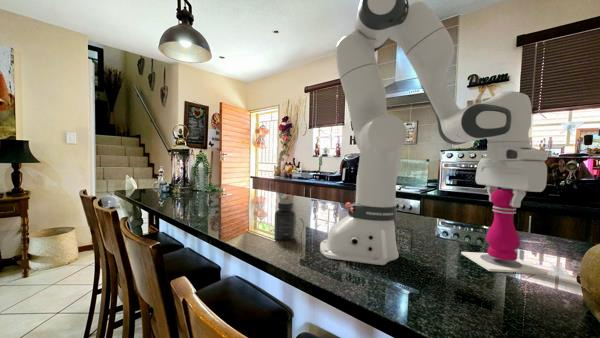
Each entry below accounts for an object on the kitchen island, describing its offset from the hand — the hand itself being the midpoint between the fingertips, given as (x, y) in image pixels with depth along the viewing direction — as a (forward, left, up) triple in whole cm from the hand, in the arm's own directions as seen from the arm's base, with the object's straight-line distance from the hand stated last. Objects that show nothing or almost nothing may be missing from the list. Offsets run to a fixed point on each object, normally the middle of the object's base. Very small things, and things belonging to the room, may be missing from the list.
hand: (503, 204), depth 69 cm
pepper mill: (0, 0, -14) cm, 14 cm away
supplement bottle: (-61, +12, -16) cm, 64 cm away
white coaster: (0, 0, -16) cm, 16 cm away
